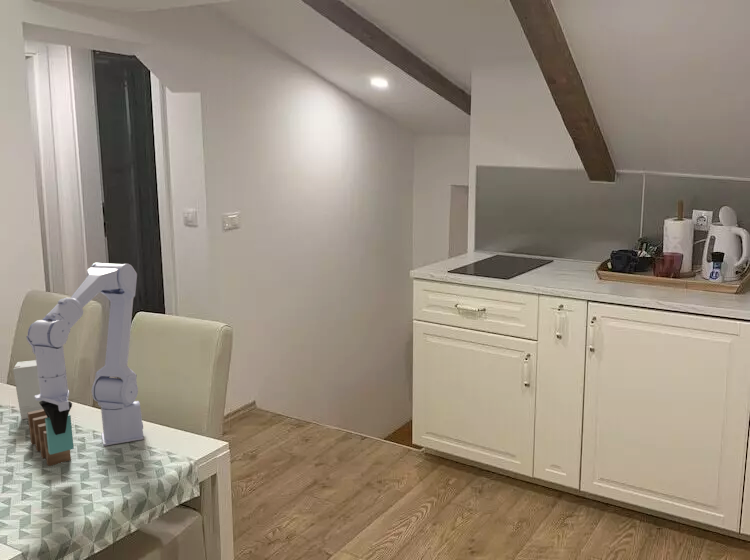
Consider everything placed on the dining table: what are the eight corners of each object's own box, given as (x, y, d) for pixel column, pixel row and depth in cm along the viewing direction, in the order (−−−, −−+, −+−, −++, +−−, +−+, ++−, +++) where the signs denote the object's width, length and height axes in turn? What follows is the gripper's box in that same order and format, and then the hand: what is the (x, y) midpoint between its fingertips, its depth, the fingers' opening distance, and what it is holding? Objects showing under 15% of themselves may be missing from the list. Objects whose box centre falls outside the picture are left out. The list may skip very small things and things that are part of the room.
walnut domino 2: (36, 449, 186) (32, 418, 184) (57, 444, 189) (54, 413, 187) (37, 451, 185) (34, 420, 183) (59, 446, 188) (55, 415, 186)
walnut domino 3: (41, 456, 182) (37, 424, 180) (63, 450, 185) (59, 419, 183) (43, 458, 181) (39, 427, 179) (65, 453, 184) (61, 421, 182)
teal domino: (48, 452, 170) (44, 418, 169) (71, 446, 173) (68, 413, 172) (50, 454, 169) (46, 420, 168) (73, 448, 172) (70, 415, 171)
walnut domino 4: (46, 463, 178) (43, 431, 177) (69, 457, 181) (65, 426, 179) (48, 466, 177) (44, 433, 175) (71, 460, 180) (67, 428, 178)
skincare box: (56, 409, 212) (50, 357, 209) (52, 417, 206) (46, 364, 203) (23, 412, 210) (17, 360, 207) (18, 420, 204) (12, 367, 201)
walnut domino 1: (30, 442, 190) (27, 412, 188) (52, 437, 193) (48, 407, 191) (32, 445, 189) (28, 414, 187) (53, 439, 192) (50, 409, 190)
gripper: (24, 369, 171) (31, 426, 174) (41, 386, 159) (48, 447, 162) (57, 362, 175) (63, 418, 178) (76, 379, 164) (82, 438, 166)
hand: (58, 431), depth 170 cm, fingers closed on teal domino, 1 cm apart
